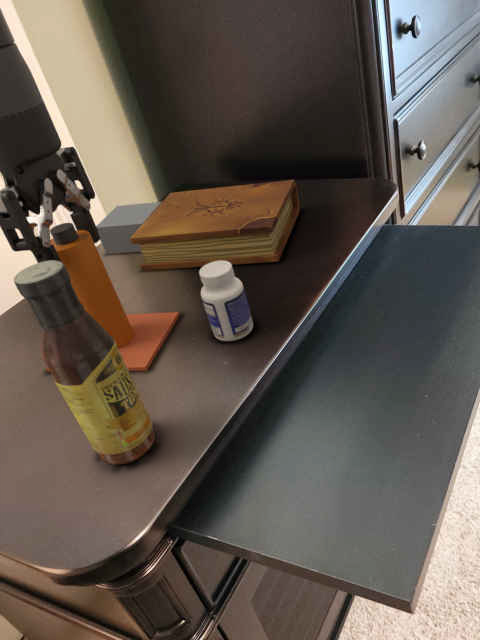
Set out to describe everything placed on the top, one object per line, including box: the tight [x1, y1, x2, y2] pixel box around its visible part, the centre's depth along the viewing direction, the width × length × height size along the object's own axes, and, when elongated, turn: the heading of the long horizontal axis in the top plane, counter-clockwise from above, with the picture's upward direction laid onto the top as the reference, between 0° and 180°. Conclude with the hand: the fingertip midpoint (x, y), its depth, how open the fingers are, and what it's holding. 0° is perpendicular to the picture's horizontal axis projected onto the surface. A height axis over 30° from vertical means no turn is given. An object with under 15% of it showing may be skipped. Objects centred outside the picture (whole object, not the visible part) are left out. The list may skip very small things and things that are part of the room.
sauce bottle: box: [13, 260, 156, 466], centre depth 48 cm, size 7×6×20 cm
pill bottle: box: [198, 261, 254, 342], centre depth 64 cm, size 5×5×9 cm
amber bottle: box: [50, 222, 134, 348], centre depth 64 cm, size 5×5×16 cm
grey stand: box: [96, 201, 163, 255], centre depth 92 cm, size 9×9×5 cm
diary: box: [130, 179, 301, 272], centre depth 87 cm, size 23×19×6 cm
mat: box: [45, 311, 180, 373], centre depth 69 cm, size 14×12×1 cm
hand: (76, 258), depth 62 cm, fingers open, 8 cm apart
